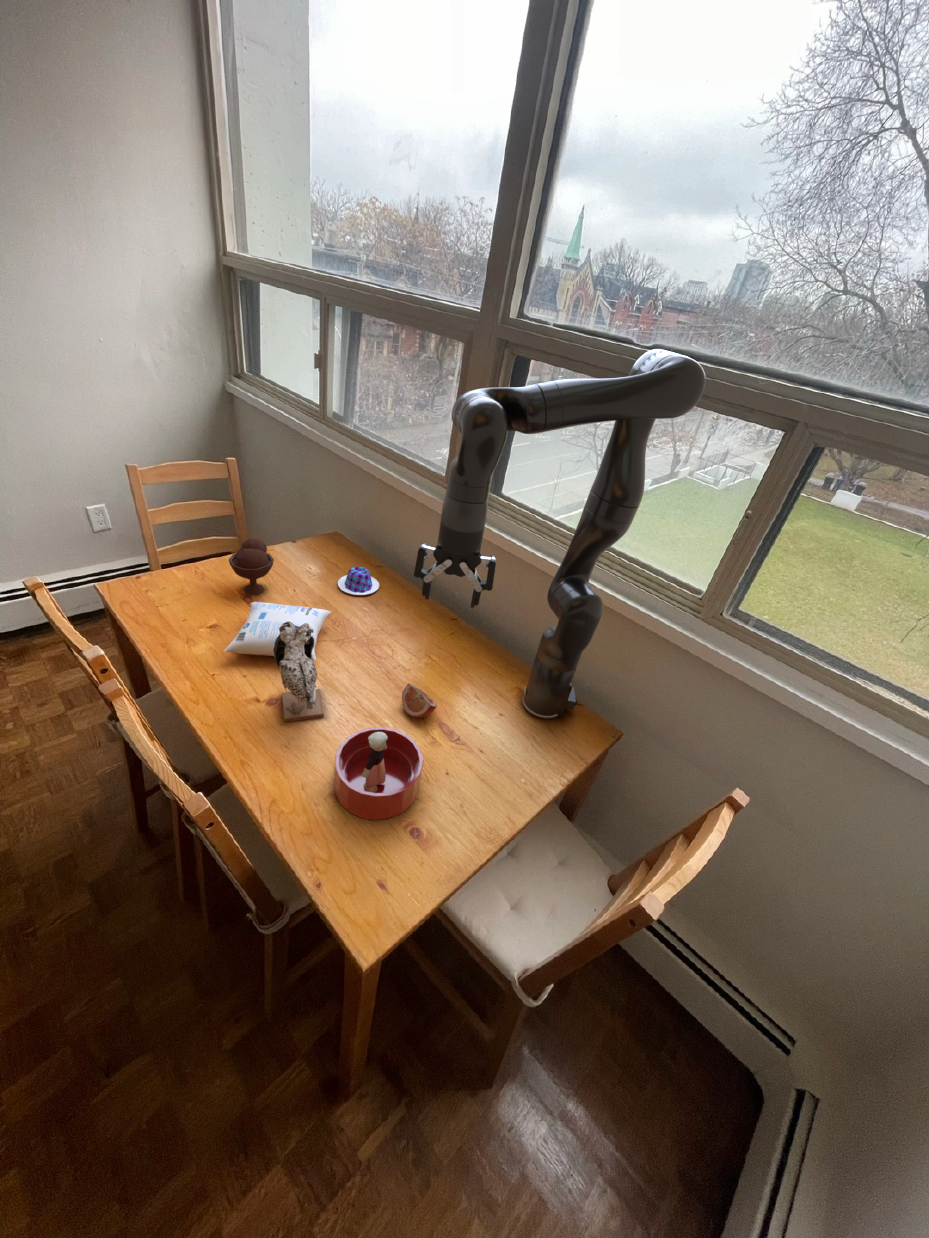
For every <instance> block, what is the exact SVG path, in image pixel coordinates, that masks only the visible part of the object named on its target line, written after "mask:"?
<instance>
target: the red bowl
mask: <svg viewBox="0 0 929 1238" xmlns="http://www.w3.org/2000/svg"><path fill="white" fill-rule="evenodd" d="M375 732H383V733H385V734H386V735H387V737H388V739H387V741H386V745H387V749H386V750H384V758H383V759H384V766H385V775H386V780H385V782H384V783H383V784H381V785H376V786H377V787H378V790H377V792H376V793H373V792H367V791H366V790H365V789H364V787H363V786H364V784H365V782H366V778H364V777H363V776H362V774H363V772H364V769H365V766H366V763H367V761H368V759H369V753H370V751H371V750H372V748H371V747H370V744H369V740H368V737H369V736H370V735H371V734H373V733H375ZM423 766H424V758H423V752H422V749H420V747H419V745H418V743H417V741H415V740H414V739H413V738H411V736H409V735H408V734H407V733H404V732H403V731H400V730H399V729H396V728H391V727H385V726H376V727H368V728H363V729H360V730H358V731H356V732H354V733H352V734H350V735H349V736H348V737H346V738H345V739H344V740H343V742H342V743H341V744H340V745H339V746H338V749H337V751H336V753H335V756H334V793H335V796H336V798H337V801H338V802H339V803H340V804H341V805H342V806H343V808H344V809H345V810H346V811H347V812H349V813H352V814H353V815H355V816H357V817H359V818H363V819H369V820H373V821H375V820H384V819H390V818H393V817H396V816H397V815H401V814H402V813H404V811H405V810H407V809H408V808H409V807H411V805H412V804H413V802H414V801H415V800H416V798H417V796H418V794H419V788H420V784H421V778H422V772H423Z"/></svg>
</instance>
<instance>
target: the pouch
mask: <svg viewBox="0 0 929 1238" xmlns="http://www.w3.org/2000/svg"><path fill="white" fill-rule="evenodd" d="M331 613H332V611H330V610H327V609H323V608H318V607H317V608H316V607H307V606H301V605H300V606H299V605H288V604H280V603H273V602H263V601H253V602H250V611H249V613H248V615H247V618H246V621H245V622H244V624H243V626H242V627H241V628H240V630H239V631H238V633H237V634H236V636H235V637H234V638H233V640H232V641H231V642H230V643H229V644H228V645H227V646H226V648H225V649H224V650H223V652H227V653H232V654H233V653H234V654H241V655H242V654H244V655H254V656H266V657H267V656H269V657H274V652H273V649H274V645H275V641H276V638H277V637H278V636H279V634H280V632H279V628H280V627H281V625H282V624H283V623H285V622H287V621H290V622H292V623H293V624H294V625H295V626H301V625H303V624H304V623H308V624H309V626H310V627H311V628H312V629H313V631H314V633H311V636H312V637H313V638H314V647H313V649H312V658H311V660H312V661H317V657H316V651H315V648H316V645H317V640H318V635H319V633H320V631H321V629H322V627H323V624H324V623H325V621H326V620H327V618H328V617H329V616H330V614H331Z"/></svg>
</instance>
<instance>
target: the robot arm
mask: <svg viewBox="0 0 929 1238" xmlns="http://www.w3.org/2000/svg"><path fill="white" fill-rule="evenodd" d="M705 387H706V373H705V370H704V368H703V367H702V365H701V364H700V363H698V361H696V360H695V359H693V358H691V357H689V356H687V355H684V354H681V353H677V352H673V351H671V350H670V351H669V350H665V349H661V348H654V349H651V350H648V351H646V352H644V353H643V354H642V355H641V356H640V357H639V358H638V359H637V360H636V361H635V363H634V364H633V366H632V367H631V369H630V371H629V373H628V375H627V376H623V377H613V378H612V377H611V378H610V377H609V378H565V379H564V378H563V379H557V380H550V381H545V382H539V383H533V384H529V385H526V386H519V387H516V386H515V387H512V386H511V387H510V386H507V387H505V386H504V387H503V386H502V387H484V388H477V389H472V390H469V391H467V392H465V393H463V394H461V395H460V396H459V397H458V398H457V399H456V400H455V401H454V403H453V405H452V409H451V413H450V414H451V422H452V424H453V427H454V428H455V430H456V432H458V433H459V435H460V436H461V441H460V446H459V451H458V455H457V456H456V457H454V459H452V461H451V463H450V465H449V470H448V477H447V484H446V490H445V496H444V500H443V503H442V507H441V515H440V522H439V529H438V537H437V544H436V546H435V547H434V546H430V545H428V543H427V542H424V541H423V542H421V543H420V545H419V548H418V550H417V555H416V561H415V565H414V571H413V576H414V578H417V579H418V578H420V579H421V580H422V589H421V590H422V591H421V596H423V597H424V600H427V601H429V600H430V596H431V592H432V583H433V580H434V579H435V578H437V577H438V576H440V574H442V573H445V575H447V576H448V575H449V576H457V577H458V578H459V577H460V578H463V577H466V579H467V580H468V582H469V583H470V584H471V585H472V587H473V591H472V596H471V600H470V608H471V609H475V607H477V606H479V604H480V600H481V594H482V592H483V591H488V592H490V591H492V590H493V587H494V580H495V573H496V565H497V556H496V555H495V554H492V555H491V554H490V556H484V555H482V554H481V549H482V543H483V538H484V533H485V532H484V531H485V527H486V523H487V518H488V510H489V509H488V508H489V507H488V506H489V497H490V493H491V486H492V482H493V474H494V472H495V470H496V467H497V466H498V463H499V461H500V458H501V456H502V453H503V451H504V449H505V445H506V442H507V438H508V433H509V432H517V433H520V434H521V433H522V434H523V435H536V434H542V433H547V432H552V431H557V430H563V429H568V428H572V427H577V426H578V427H579V426H583V425H589V424H598V423H603V422H613V421H614V424H613V428H612V431H611V434H610V438H609V439H608V443H607V446H606V448H605V451H604V454H603V456H602V459H601V462H600V464H599V468H598V470H597V473H596V475H595V478H594V480H593V483H592V485H591V488H590V490H589V492H588V495H587V498H586V500H585V504H584V506H583V509H582V512H581V515H580V518H579V520H578V523H577V525H576V529H575V531H574V533H573V536H572V538H571V541H570V543H569V546H568V549H567V551H566V553H565V555H564V557H563V559H562V561H561V563H560V565H559V567H558V569H557V570H556V573H555V575H554V577H553V578H552V581H551V583H550V585H549V588H548V591H547V594H546V599H547V604H548V606H549V608H550V610H551V611H552V613H553V614H554V615H555V617H556V618H557V619H558V622H557V625H555V626H549V627H547V628H545V630H544V631H543V632H542V634H541V638H540V641H539V644H538V648H537V651H536V654H535V657H534V661H533V664H532V666H531V671H530V674H529V677H528V680H527V684H526V685H525V686H524V693H523V695H522V699H521V703H522V706H523V708H524V709H525V710H526V712H527V713H529V715H531V716H533V717H535V718H538V719H541V720H552V719H556V718H562V717H563V714H564V713H565V712H564V711H565V709H566V710H574V708H575V707H576V706H577V704H578V699H577V697H576V692H575V686H573V679H574V677H575V673H576V671H577V668H578V665H579V662H580V659H581V657H582V654H583V652H584V650H585V649H587V647H588V646H589V644H590V643H591V642H592V639H593V636H594V634H595V632H596V630H597V627H598V626H599V623H600V621H601V618H602V616H603V612H604V602H603V599H602V597H601V596H600V595H599V594H598V593H597V591H596V590H595V589H594V588H593V587H592V586H591V585H590V580H591V575H592V574H593V571H594V568H595V566H596V564H597V562H598V561H599V558H600V557H601V556H602V555H603V553H605V552H606V551H607V550H609V548H610V547H613V545H614V544H616V543H618V541H619V540H621V539H622V538H623V536H625V534H626V533H627V532H628V531H629V529H630V527H631V525H632V523H633V522H634V519H635V516H636V515H637V512H638V510H639V507H640V506H641V502H642V500H643V497H644V493H645V492H644V491H645V485H646V454H647V453H646V451H647V445H648V442H649V437H650V435H651V432H652V429H653V427H654V424H655V421H656V419H657V420H658V419H659V420H663V419H664V420H665V419H669V420H670V419H676V418H679V417H682V416H684V415H686V414H687V413H689V412H690V411H691V410H693V409H694V407H696V406H697V404H698V403H699V401H700V400H701V398H702V396H703V394H704V391H705ZM431 555H433V557H434V559H435V562H434V563H433V564H432V565H431V567H429V568H428V569H427V570H426V569H424V564H425V559H426V560H427V559H429V558H430V556H431ZM481 564H482V565H483V568H484V570H487V572H486V573H487V574H486V579H485V580H482V578H481V576H480V575H479V572H478V570H477V567H478V566H480V565H481Z"/></svg>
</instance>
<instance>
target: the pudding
mask: <svg viewBox="0 0 929 1238" xmlns="http://www.w3.org/2000/svg"><path fill="white" fill-rule="evenodd" d="M337 586H338V588H339V589H340V590H341V591H343V592H344V593H347V594H351V595H354V596H355V595H356V596H366V595H370V594H373V593H375V592H377V590H378V589H379V588H380V583H379V581H378V580H377V579H376V578H375V577H373V576H371V572H370V570H368V569H367V568H366V567H363V566H353V567H351V568H349V570H348V571H347V574H345V575H343V576H341V577H340V578H339V579H338V580H337Z"/></svg>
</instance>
